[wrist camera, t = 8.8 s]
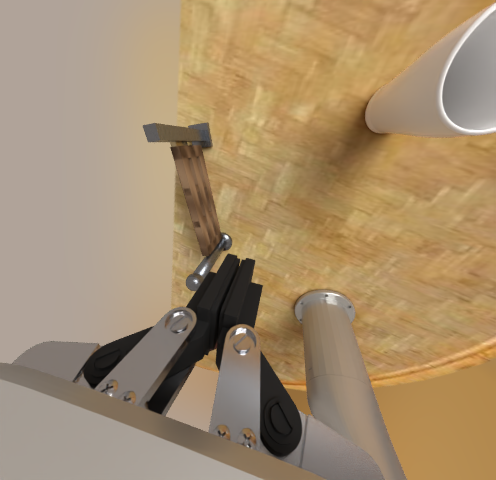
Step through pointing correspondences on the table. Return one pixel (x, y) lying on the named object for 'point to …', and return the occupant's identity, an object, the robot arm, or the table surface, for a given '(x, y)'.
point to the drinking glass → (444, 86)
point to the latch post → (179, 134)
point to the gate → (198, 195)
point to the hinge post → (208, 263)
